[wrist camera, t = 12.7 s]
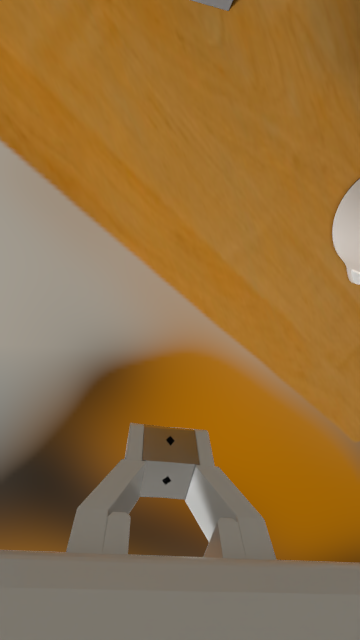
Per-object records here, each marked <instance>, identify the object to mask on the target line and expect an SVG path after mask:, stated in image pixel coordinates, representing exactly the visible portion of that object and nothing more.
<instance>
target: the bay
mask: <svg viewBox="0 0 360 640" xmlns="http://www.w3.org/2000/svg"><path fill="white" fill-rule="evenodd" d="M192 1H196V2H199V3H203V4H206V5H210V6H213V7H217V8H220V9H224V10H227V11H229V8H230V6H231V4H232V1H233V0H192Z"/></svg>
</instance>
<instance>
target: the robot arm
mask: <svg viewBox="0 0 360 640" xmlns="http://www.w3.org/2000/svg"><path fill="white" fill-rule="evenodd" d="M332 235H333V243H334V247H335V249H336V252H337V253H338V255H339V257H340V258H341V259H342V260H343V262H344V263H345V265H346V267H347V273H348V277H349V280H350V281H351V282H352V283H355V284H359V285H360V179H359V180H358V181H357V182H356V183H355V184H354V185H353V186H352V187H351V188H350V189H349V190H348V192H347V193H346V195H345V196H344V198H343V199H342V201H341V203H340V205H339V207H338V209H337V212H336V214H335V218H334V222H333V230H332ZM139 497H163V498H174V499H175V498H176V499H185V501H186V503H187V505H188V506H189V508H190V510H191V512H192V513H193V515H194V517H195V519H196V520H197V522H198V524H199V525H200V527H201V529H202V531H203V532H204V534H205V536H206V538H207V539H208V541H209V544H208V547H207V549H206V552H205V554H204V557H180V556H151V555H128V543H129V530H130V516H129V515H128V514H129V513H130V511H131V510H132V508H133V506H134V505H135V503H136V502H137V500H138V499H139ZM0 640H360V563H348V562H320V561H318V562H317V561H291V560H276V557H275V554H274V550H273V547H272V544H271V541H270V537H269V534H268V531H267V527H266V524H265V521H264V519H263V517H262V516H261V515H260V514H259V513H258V512H257V511H256V509H255V508H254V507H253V506H252V505H251V504H250V503H249V501H248V500H247V499H246V498H245V497H244V496H243V494H242V493H241V492H240V491H239V490H238V489H237V488H236V486H235V485H234V484H233V483H232V482H231V481H230V480H229V478H228V477H227V476H226V475H225V474H224V473H223V472H222V471H221V469H220V468H219V467H215V465H214V461H213V455H212V450H211V445H210V440H209V435H208V432H207V431H206V430H196V429H194V430H193V429H185V428H172V427H161V426H154V425H145V424H144V425H143V424H135V423H131V424H130V429H129V435H128V441H127V447H126V454H125V459H122V460H121V461H120V462H119V463H118V464H117V465H116V466H115V468H114V469H113V470H112V471H111V472H110V473H109V474H108V475H107V476H106V477H105V478H104V480H103V481H102V482H101V483H100V484H99V485H98V486H97V487H96V488H95V490H94V491H93V492H92V493H91V494H90V495H89V496H88V497H87V498H86V499H85V500H84V502H83V503H82V504H81V505H80V506H79V507H78V508H77V511H76V515H75V519H74V523H73V527H72V531H71V535H70V539H69V543H68V547H67V551H66V552H43V551H42V552H41V551H13V550H0Z"/></svg>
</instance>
